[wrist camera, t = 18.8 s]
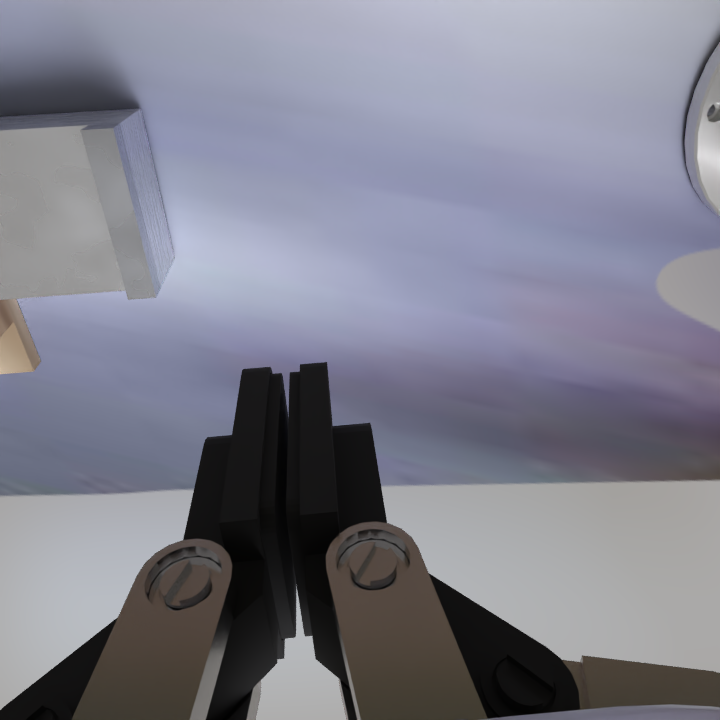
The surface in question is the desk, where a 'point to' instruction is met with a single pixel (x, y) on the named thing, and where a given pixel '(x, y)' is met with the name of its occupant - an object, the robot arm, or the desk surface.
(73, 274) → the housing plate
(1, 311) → the socket board
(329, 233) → the desk surface
